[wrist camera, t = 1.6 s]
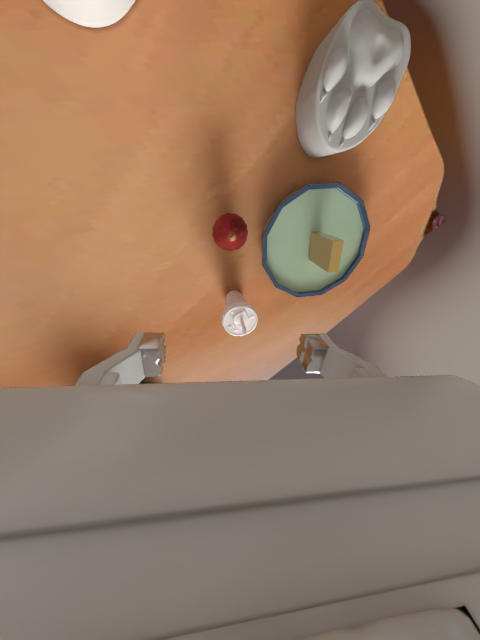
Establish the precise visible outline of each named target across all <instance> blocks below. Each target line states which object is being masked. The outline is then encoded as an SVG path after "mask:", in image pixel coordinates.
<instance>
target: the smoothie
mask: <svg viewBox="0 0 480 640" xmlns="http://www.w3.org/2000/svg"><path fill="white" fill-rule="evenodd" d="M257 321H258V318H257V314H256V311H255V310H254V308H253V307H251V306H250V305H249V304H248V302H247V301H246V300H245V298H244V297H243V295H242V294H241V293H240V292H239V291H235V290H234V291H230V292H229V293H228V294H227V295H226V298H225V309H224V313H223V316H222V324H223V327H224V329H225V330H226V331H227V332H228V333H229V334H231V335H235V336H243V335H246V334H248V333H250V332H251V331H253V330H254V328H255V327H256V325H257Z"/></svg>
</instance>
